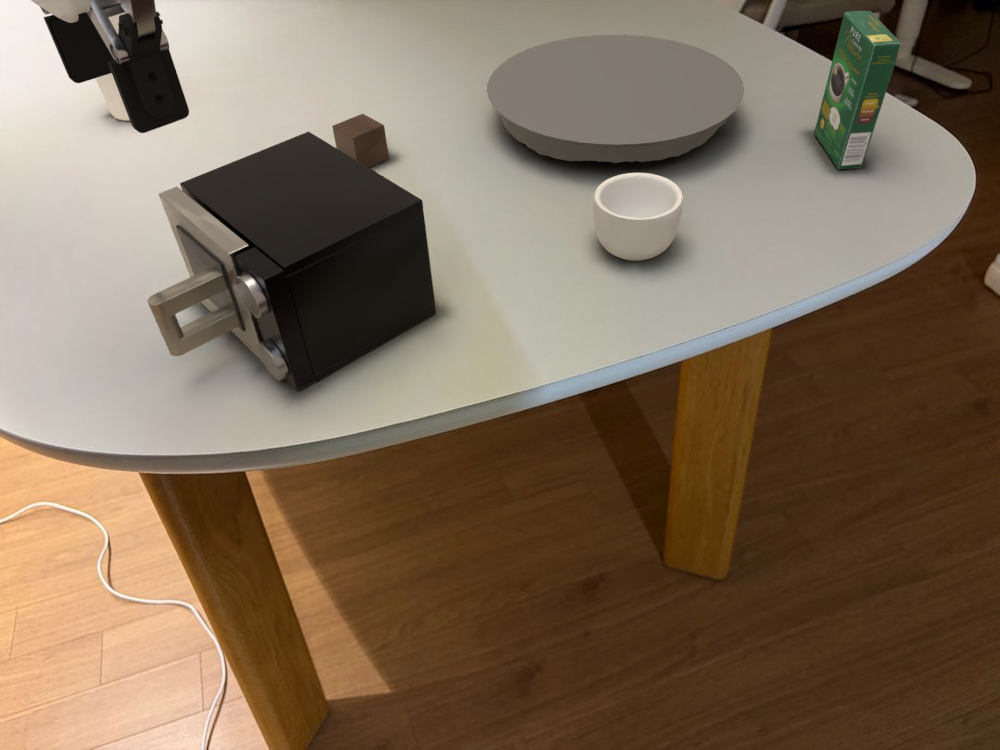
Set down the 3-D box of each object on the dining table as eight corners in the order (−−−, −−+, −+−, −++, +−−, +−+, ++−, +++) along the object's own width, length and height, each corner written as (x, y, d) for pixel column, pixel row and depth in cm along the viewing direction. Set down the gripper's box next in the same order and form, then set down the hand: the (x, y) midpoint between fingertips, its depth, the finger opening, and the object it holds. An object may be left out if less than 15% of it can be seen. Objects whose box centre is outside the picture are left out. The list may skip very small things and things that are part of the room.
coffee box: (865, 170, 81) (905, 40, 72) (837, 172, 81) (873, 42, 72) (838, 133, 87) (872, 8, 78) (812, 134, 87) (842, 10, 78)
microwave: (289, 398, 61) (252, 282, 53) (193, 305, 70) (150, 194, 62) (436, 313, 68) (422, 199, 60) (332, 238, 77) (308, 131, 69)
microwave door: (200, 401, 61) (152, 289, 54) (137, 330, 67) (86, 222, 60) (283, 355, 64) (249, 244, 57) (215, 293, 71) (177, 185, 63)
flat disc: (514, 65, 104) (513, 30, 101) (736, 75, 99) (742, 39, 96) (463, 174, 84) (460, 135, 81) (737, 194, 79) (745, 152, 76)
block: (359, 172, 85) (353, 138, 83) (338, 160, 88) (331, 125, 85) (389, 159, 87) (384, 124, 85) (368, 147, 90) (362, 113, 87)
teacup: (654, 281, 69) (660, 229, 66) (576, 256, 73) (578, 205, 69) (698, 225, 75) (706, 174, 72) (624, 204, 79) (628, 154, 75)
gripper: (-141, -260, 40) (18, 77, 51) (-41, -240, 30) (126, 171, 42) (14, -277, 43) (129, 43, 55) (148, -263, 33) (253, 122, 45)
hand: (128, 98), depth 48 cm, fingers open, 9 cm apart
